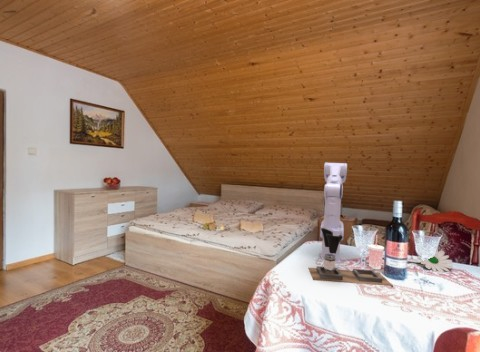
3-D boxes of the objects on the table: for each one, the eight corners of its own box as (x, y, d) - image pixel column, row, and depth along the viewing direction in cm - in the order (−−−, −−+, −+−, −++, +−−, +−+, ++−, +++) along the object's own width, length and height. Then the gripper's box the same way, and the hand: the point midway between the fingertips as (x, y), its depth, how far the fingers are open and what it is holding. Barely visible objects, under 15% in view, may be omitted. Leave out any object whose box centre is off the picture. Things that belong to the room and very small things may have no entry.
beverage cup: (372, 263, 121) (374, 232, 120) (385, 268, 116) (388, 235, 115) (363, 266, 117) (365, 233, 117) (377, 271, 112) (379, 237, 112)
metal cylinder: (322, 272, 108) (323, 253, 107) (332, 273, 107) (334, 254, 107) (324, 276, 104) (325, 257, 103) (335, 277, 103) (336, 257, 103)
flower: (372, 243, 132) (447, 245, 120) (372, 251, 134) (446, 253, 123) (375, 266, 121) (458, 270, 110) (375, 273, 124) (456, 278, 113)
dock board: (307, 268, 112) (308, 264, 112) (379, 273, 110) (379, 268, 110) (313, 281, 100) (313, 276, 100) (393, 287, 98) (393, 281, 98)
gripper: (317, 210, 112) (316, 243, 113) (325, 217, 97) (323, 255, 98) (335, 211, 111) (333, 244, 112) (346, 218, 97) (343, 256, 98)
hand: (330, 249), depth 105 cm, fingers open, 7 cm apart
